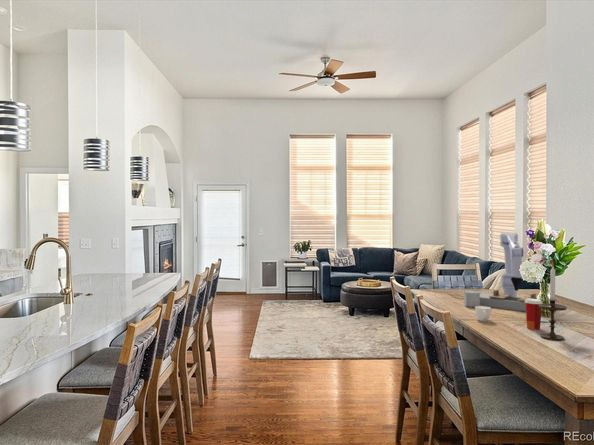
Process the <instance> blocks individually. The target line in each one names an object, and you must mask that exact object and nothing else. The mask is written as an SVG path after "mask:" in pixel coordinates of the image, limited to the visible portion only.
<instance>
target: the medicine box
mask: <svg viewBox="0 0 594 445" xmlns="http://www.w3.org/2000/svg"><path fill="white" fill-rule="evenodd" d="M463 295H464V301H463V302H464V306H465V307H466V308H475V307H476V306H480V295H481V293H480V292H478V291H464V294H463Z"/></svg>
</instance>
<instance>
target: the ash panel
mask: <svg viewBox="0 0 594 445" xmlns="http://www.w3.org/2000/svg"><path fill="white" fill-rule="evenodd" d="M520 298H521V299H518V301H521V302H525V300H526V299H537V298H538V297H537V295H536V293H532V294H530V296H526V295H525V296H523V297H520Z"/></svg>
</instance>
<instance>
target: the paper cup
mask: <svg viewBox="0 0 594 445" xmlns="http://www.w3.org/2000/svg"><path fill="white" fill-rule="evenodd" d="M525 303H526V311H525V318H526V320H525V321H526V329H527V330H531V331H540V330H541V322H542V321H541V320H542V310H543V309H542V308H539V304H544V303H543V302H542V299H540V298H539V299H526V300H525Z"/></svg>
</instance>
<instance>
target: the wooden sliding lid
mask: <svg viewBox="0 0 594 445" xmlns="http://www.w3.org/2000/svg"><path fill="white" fill-rule="evenodd" d="M492 293H493V294H492V296H489V298H495V299H505V298H508V297H510V296H511V295H507V294H503V293H499V289H496V290H493V292H492Z"/></svg>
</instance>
